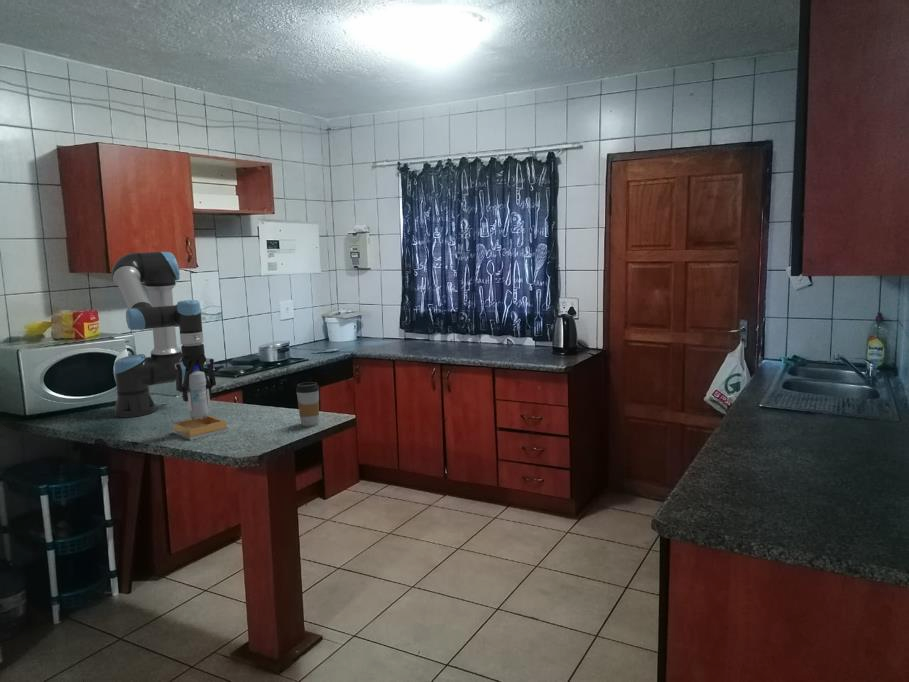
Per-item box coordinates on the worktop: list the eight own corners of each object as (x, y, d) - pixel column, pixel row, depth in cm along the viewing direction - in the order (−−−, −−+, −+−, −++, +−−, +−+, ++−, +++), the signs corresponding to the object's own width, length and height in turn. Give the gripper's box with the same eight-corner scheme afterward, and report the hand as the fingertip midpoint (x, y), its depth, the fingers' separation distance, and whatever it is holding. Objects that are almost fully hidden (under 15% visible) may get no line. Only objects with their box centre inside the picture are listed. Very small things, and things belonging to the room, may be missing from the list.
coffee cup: (296, 423, 245) (293, 383, 242) (318, 419, 248) (316, 380, 246) (300, 428, 237) (297, 387, 235) (323, 425, 240) (321, 385, 238)
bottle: (202, 421, 232) (197, 365, 229) (185, 420, 234) (180, 365, 231) (213, 416, 239) (208, 362, 236) (196, 415, 240) (191, 362, 237)
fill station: (172, 432, 238) (171, 422, 237) (210, 424, 247) (209, 414, 247) (190, 440, 227) (189, 430, 226) (228, 431, 237) (227, 421, 236)
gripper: (169, 348, 223) (176, 415, 226) (222, 341, 236) (228, 404, 240) (160, 347, 228) (167, 411, 232) (213, 339, 242) (219, 401, 245)
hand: (198, 407), depth 236 cm, fingers closed on bottle, 6 cm apart
